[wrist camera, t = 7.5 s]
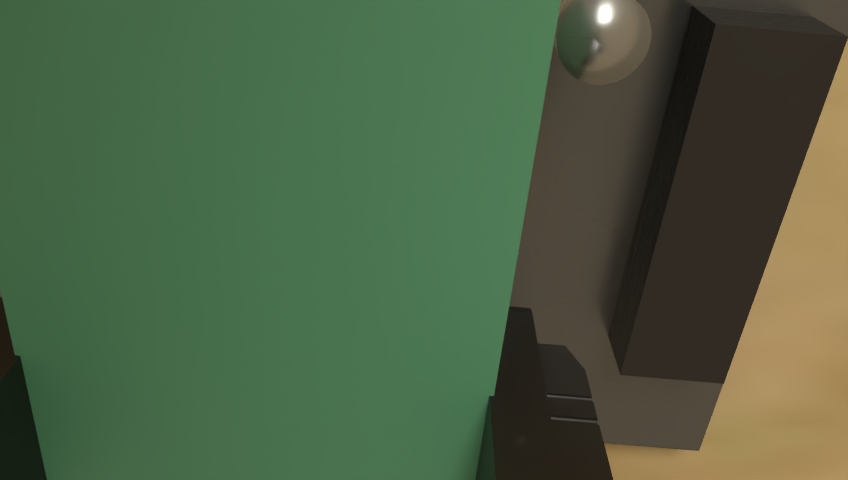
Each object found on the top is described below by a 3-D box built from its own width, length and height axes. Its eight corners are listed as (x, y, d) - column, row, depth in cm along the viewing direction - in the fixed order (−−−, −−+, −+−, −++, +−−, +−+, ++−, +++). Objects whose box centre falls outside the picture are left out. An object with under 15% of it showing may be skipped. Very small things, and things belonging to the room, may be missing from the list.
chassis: (-199, -295, 14) (-653, -369, 8) (896, -183, 14) (1198, -179, 9) (-30, 365, 21) (-205, 569, 15) (688, 424, 22) (775, 644, 16)
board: (67, -141, 9) (-123, -117, 6) (534, -96, 9) (577, -49, 6) (155, 549, 15) (81, 734, 12) (438, 571, 15) (436, 761, 12)
